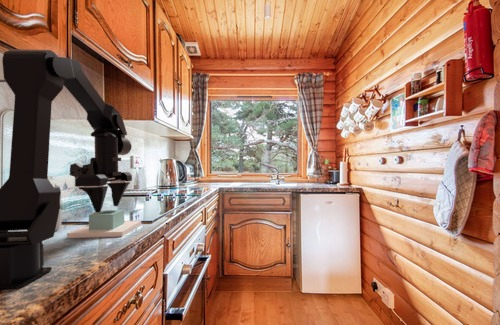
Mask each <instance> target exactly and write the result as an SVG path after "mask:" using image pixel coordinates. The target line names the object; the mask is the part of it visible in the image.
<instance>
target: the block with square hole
mask: <svg viewBox="0 0 500 325" xmlns="http://www.w3.org/2000/svg"><path fill="white" fill-rule="evenodd" d="M124 221H125V210H124V209H114V210H113V209H112V210H111V209H107V210H106V209H105V210H103V209H101V212H96V213H94V212H93V213H91V214H88V225H89V230H106V229H115V228H117V227H118V226H120V225H122V224H124Z"/></svg>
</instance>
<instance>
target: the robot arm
mask: <svg viewBox="0 0 500 325" xmlns="http://www.w3.org/2000/svg"><path fill="white" fill-rule="evenodd" d="M2 54H3V55H2V61H1V62H2V72H3V73H2V74H3V80H4V81H5V84H7V85H8V87H9V89H10V90H11V92H12V93H13V95H14V105H13V106H14V107H13V119H12V129H11V130H12V132H11V146H10V148H11V149H10V157H9V158H10V160H9V174H8V179H6V181H5V182H4V183H3V184H2V186H1V187H0V289H20V288H23V287H24V286H26V285H28V284H30V283H31V282H33V281H34V280H36V279H38V278H40V277H42V276H43V275H46V274H47V273H49V272H51V271H52V267H51V266H44V263H45V262H44V243H43V242H44V241H47V240H49V239H52V238H53V237H54V236H55V234H56V233H55V232H56V231H55V228H56V224H57V220H58V215H59V209H61V210H62V206H61V207H60V195H61V196H62V191H61V189H60V187H59V186H58V187H54V185H53V184H52V183H51V181H50V179H49V178H48V176H49V174H48V172H49V171H48V170H49V156H50V154H49V153H50V136H51V118H52V104H53V101H54V100H55V99H56V97H57V96H58V95H59V94H60V93H61V92H62V90H63V89H64V87H65V89H66V90H67V91H68V92H69V93H70V94H71V95H72V97H74V99H75V100H76V101H77V103H78V104H79V105H80V106H81V107H82V109H84V111H85V112H86V113H87V114H86V121H87V122H88V123H89V125H90V127H91V128H92V129H93V131H92V132H91V133H90V136H91V137H93V138H94V157H91V158H90V159H89V163H87V164H83V165H82V164H81V163H80V162H79V163H77V162H75V163H72V164H70V165H69V176H71V177H74V187H78V189H79V190H80V191H81V190H82V191H84V192H85V193H86V194H87V195H88V198H89V200H90V202H91V204H92V207H93V209H94V212H101V211H102V210H103V205H104V201H105V198H106V195H107V191H108V188H110V192H111V197H112V198H111V200H112V204H113V207H118V206H119V205H120V202H121V200H122V199H123V196H124V194H125V192H126V190H127V189H128V186H129V184H130V183H131V182H132V181H133V175H132V174H131V173H130V172H128V171H126V172H123V171H119V162H122V157H119V156H125V155H128V154H129V153H130V152H131V150H132V144H131V141H130V140H129V139H128V138H126V136H127V135H128V131H127V130H126V126H125V122H124V120H123V117H122V115H121V114H120V112H119V110H117V108H115V107H114V106H113V105H111V104H109V103H107V102H106V101H105V100H103V98H102V97H101V95H100V94H99V92H98V91H97V89H96V88H95V87H94V85H93V84H92V83H91V81H90V80H89V78H88V77H87V76H86V74H85V72H84V71H83V67H82V64H81V63H80V62H79V61H78V60H76V59H73V58H71V57H62V56H59V55H58V54H56V52H54V51H53V50H50V49H19V48H18V49H17V48H16V49H14V48H12V49H8V50H6V51H4V53H2ZM27 230H28V231H27Z"/></svg>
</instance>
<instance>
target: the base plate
mask: <svg viewBox="0 0 500 325" xmlns="http://www.w3.org/2000/svg"><path fill="white" fill-rule="evenodd" d="M93 213H96V212H95V211H94V212H93ZM140 226H142V220H130V221H129V220H126V221H125V220H124V224H122V225H120V226H118V227H117V228H115V229H106V230H89V224H87V225H85V226H82V227H79V228H77V229H75V230H73V231H70V232H67V233H66V238H67V239H77V238H78V239H79V238H111V237H125V235H127V234H129V233H130V232H132V231H134V230H135V229H137V228H139V227H140Z"/></svg>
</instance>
